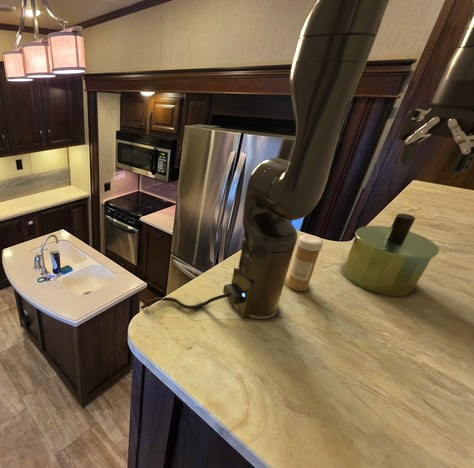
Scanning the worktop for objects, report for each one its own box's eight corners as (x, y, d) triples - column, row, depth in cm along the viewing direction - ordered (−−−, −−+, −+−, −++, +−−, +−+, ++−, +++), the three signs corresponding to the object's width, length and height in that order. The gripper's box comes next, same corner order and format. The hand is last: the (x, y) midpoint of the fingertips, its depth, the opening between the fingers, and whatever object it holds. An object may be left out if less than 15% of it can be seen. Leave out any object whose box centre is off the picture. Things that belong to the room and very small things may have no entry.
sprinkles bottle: (311, 286, 71) (327, 239, 64) (301, 294, 68) (317, 246, 62) (292, 277, 74) (305, 232, 67) (282, 284, 72) (295, 238, 65)
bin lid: (400, 266, 60) (416, 236, 56) (339, 234, 72) (349, 208, 68) (454, 255, 62) (473, 225, 58) (386, 226, 74) (398, 200, 71)
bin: (381, 300, 65) (400, 262, 60) (330, 268, 76) (343, 233, 71) (428, 290, 67) (451, 252, 62) (371, 259, 78) (387, 225, 73)
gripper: (410, 78, 56) (378, 161, 64) (514, 77, 44) (458, 180, 51) (441, 75, 57) (405, 157, 65) (551, 73, 45) (491, 175, 52)
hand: (429, 167), depth 58 cm, fingers open, 8 cm apart
